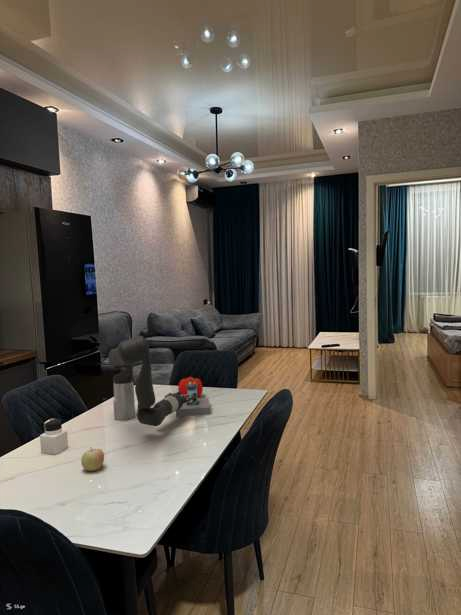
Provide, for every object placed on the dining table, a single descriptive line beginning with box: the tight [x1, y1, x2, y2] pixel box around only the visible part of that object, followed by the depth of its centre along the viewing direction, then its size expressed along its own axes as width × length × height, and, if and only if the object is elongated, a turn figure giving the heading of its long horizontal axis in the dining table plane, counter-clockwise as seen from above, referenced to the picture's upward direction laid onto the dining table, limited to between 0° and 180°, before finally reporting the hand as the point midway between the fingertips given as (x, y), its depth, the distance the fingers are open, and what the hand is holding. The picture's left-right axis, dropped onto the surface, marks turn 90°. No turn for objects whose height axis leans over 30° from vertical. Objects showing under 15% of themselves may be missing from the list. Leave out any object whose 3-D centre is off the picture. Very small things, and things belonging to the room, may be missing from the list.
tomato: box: [177, 376, 204, 399], centre depth 228 cm, size 14×13×10 cm
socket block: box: [175, 397, 211, 418], centre depth 206 cm, size 16×16×4 cm
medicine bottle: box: [39, 418, 69, 456], centre depth 163 cm, size 7×7×12 cm
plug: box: [187, 382, 198, 405], centre depth 206 cm, size 5×5×14 cm
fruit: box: [80, 447, 105, 472], centre depth 146 cm, size 8×7×8 cm
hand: (187, 394), depth 202 cm, fingers open, 8 cm apart
